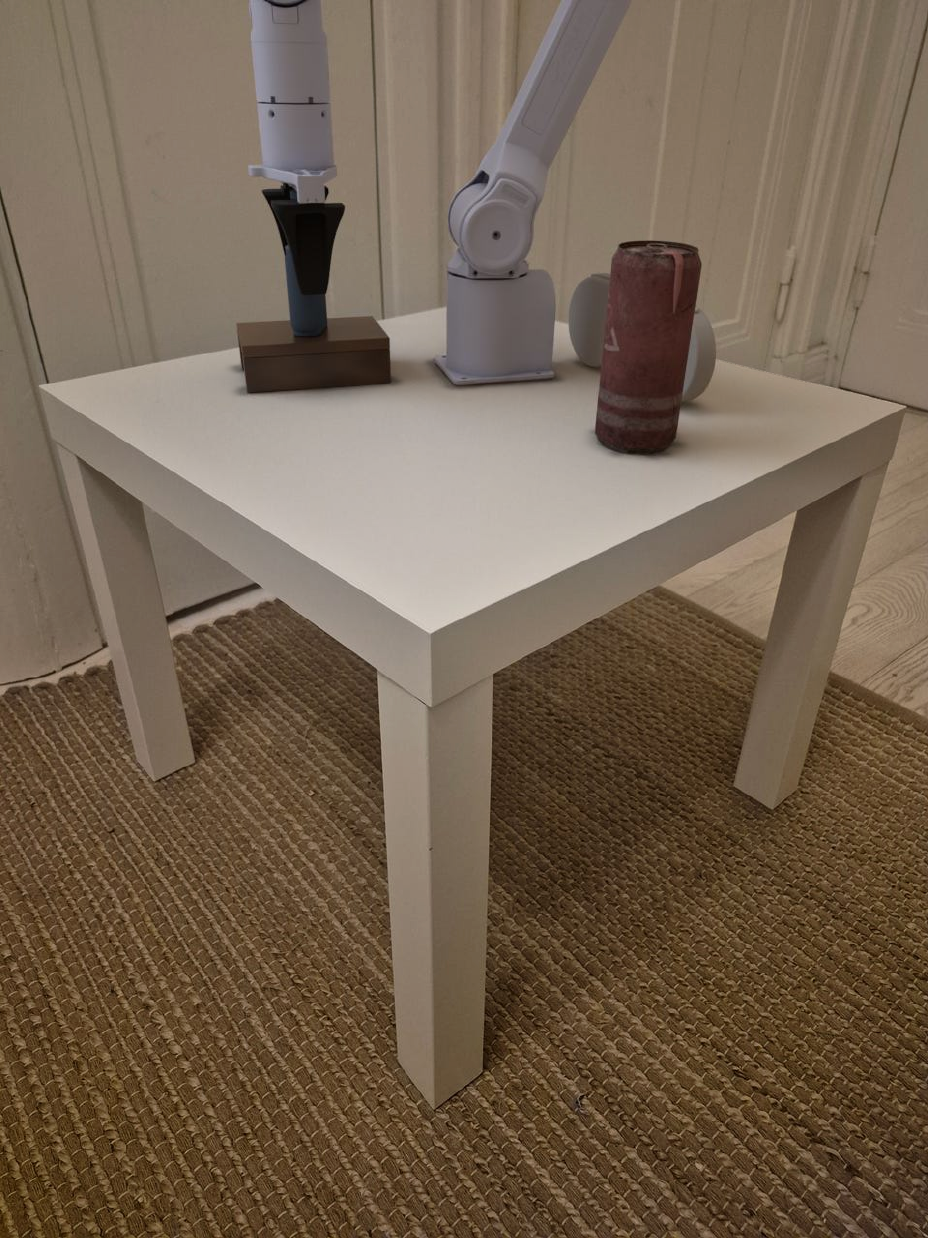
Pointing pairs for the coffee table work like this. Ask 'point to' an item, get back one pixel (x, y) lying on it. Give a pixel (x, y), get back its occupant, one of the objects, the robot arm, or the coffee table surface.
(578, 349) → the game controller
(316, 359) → the brown wooden box
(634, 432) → the can
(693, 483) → the coffee table surface
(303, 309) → the vaping device
